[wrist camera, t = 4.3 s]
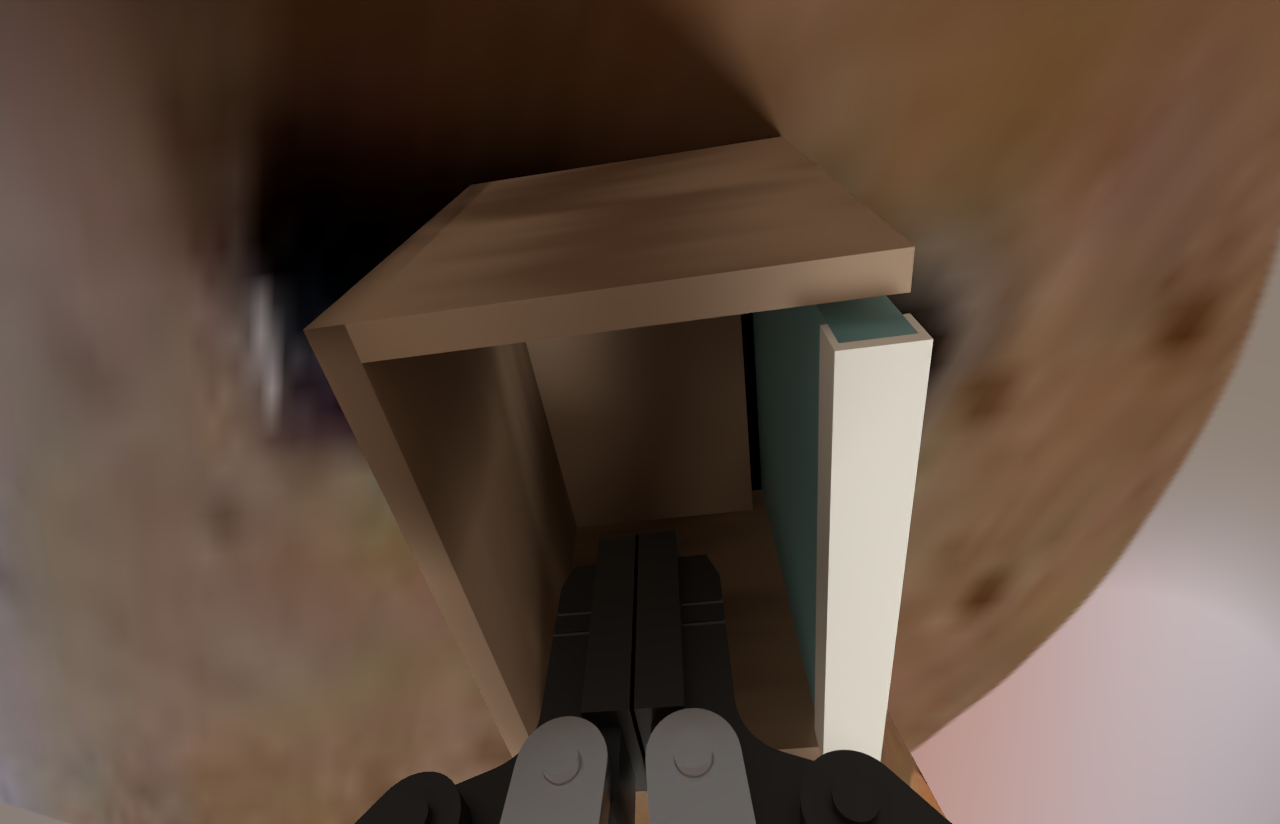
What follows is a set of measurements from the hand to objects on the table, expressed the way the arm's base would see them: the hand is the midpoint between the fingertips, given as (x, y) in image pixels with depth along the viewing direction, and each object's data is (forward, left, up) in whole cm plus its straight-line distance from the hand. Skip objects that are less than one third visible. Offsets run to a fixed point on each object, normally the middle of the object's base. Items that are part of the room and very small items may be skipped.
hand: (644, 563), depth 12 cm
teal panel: (+4, 0, -8) cm, 9 cm away
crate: (0, 0, -8) cm, 8 cm away
